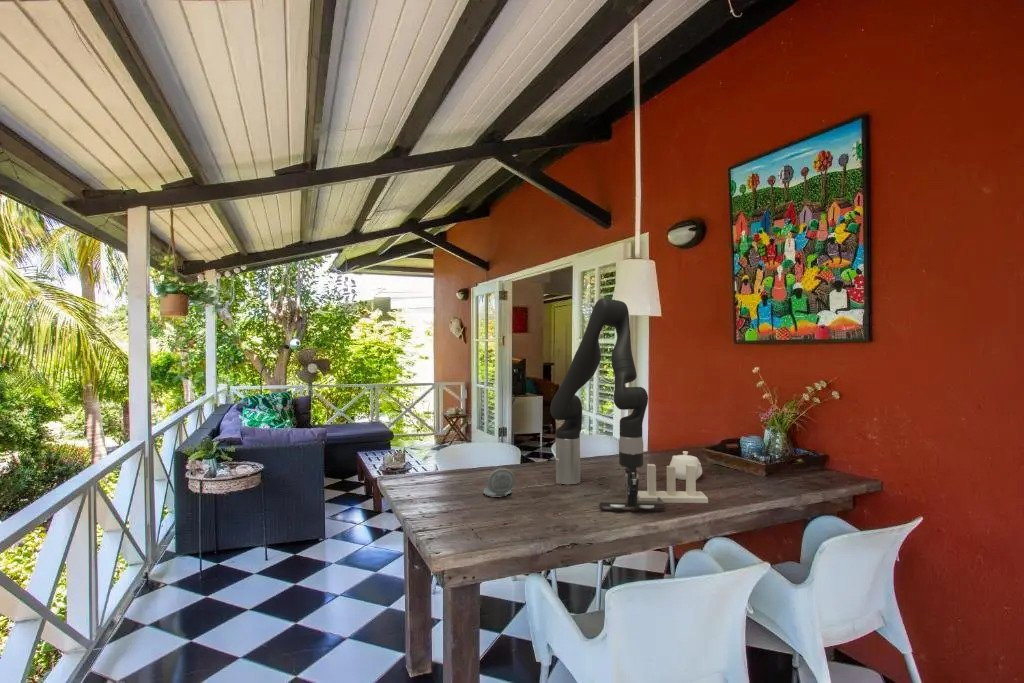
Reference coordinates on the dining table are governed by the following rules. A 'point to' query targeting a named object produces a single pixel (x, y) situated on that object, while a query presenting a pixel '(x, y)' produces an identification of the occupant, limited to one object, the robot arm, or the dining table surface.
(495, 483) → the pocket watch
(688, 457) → the teapot
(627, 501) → the spectacle frame
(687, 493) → the display stand
